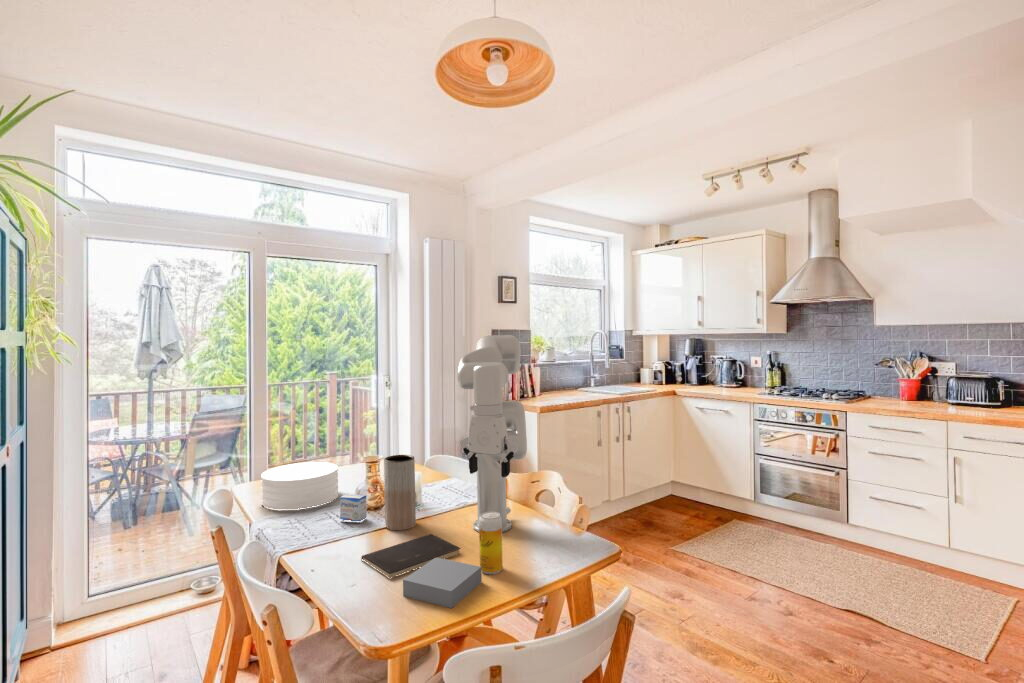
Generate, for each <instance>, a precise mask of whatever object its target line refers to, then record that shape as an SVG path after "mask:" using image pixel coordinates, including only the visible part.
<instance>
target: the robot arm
mask: <svg viewBox="0 0 1024 683" xmlns="http://www.w3.org/2000/svg"><path fill="white" fill-rule="evenodd" d="M521 350H522V349H521V343H520V341H519V339H518V338H517V337H516V336H514V335H513V334H505V335H504V334H503V335H502V334H501V335H499V334H498V335H497V334H496V335H494V334H493V335H484V336H482V337H480V339H479V340H477V342H476V346H475V350H474V351H472V352H469V353H467V354H465V355H463V356H462V357H461V359H460V360H459V363H458V368H457V375H456V376H457V382H458V385H459V386H460V388H461V389H464V390H473V405H470V408H469V409H470V411H473V415H471V416H470V420H469V421H470V422H469V428H468V437H466V438H464V439H463V440H461V441H459V444H460V446H461V447H462V448H461V449H462V451H463V453H464V454H465V455H466V458H467V459H468V469H469V474H471V475H473V474H474V473H476V496H477V498H476V499H477V501H476V502H477V520H475V521H474V522H473V524H472V527H473V529H474V530H475V531H476V532H478V533H479V518H480V515H481V514H482V513H484V512H498V513H499V514H500V516H501V518H502V533H504V532H507V531H509V530H510V529H511V528H512V521H511V520H509V519H507V516H508V514H510V513H511V511H512V510H511V508H510V507H509V506H508V507H507V477H508V476H510V473H511V461H515V460H517V461H518V460H522V459H524V458H525V457H526V456H527V450H528V440H527V425H526V424H527V423H526V412H525V408H524V405H523V403H522V402H520V401H517V400H503V389H504V387H505V386H506V384H507V383H508V382H509V375H514V374H516V373H518V372H519V371H520V367H521V355H522V354H521V353H522V352H521ZM498 461H499V462H498ZM500 461H501V463H500Z"/></svg>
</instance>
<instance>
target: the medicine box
mask: <svg viewBox="0 0 1024 683" xmlns="http://www.w3.org/2000/svg"><path fill="white" fill-rule="evenodd" d="M367 512H368V509H367V495H364V494H363V495H362V494H350V493H346V494H344V495H342V496H340V497H339V520H340V519H343V520H351V521H361V520H363V519H365V518H366V517H367V515H368V514H367ZM367 518H368V517H367Z"/></svg>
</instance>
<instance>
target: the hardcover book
mask: <svg viewBox="0 0 1024 683" xmlns="http://www.w3.org/2000/svg"><path fill="white" fill-rule="evenodd" d="M460 550H461V547H459V546H458V545H455V544H453V543H452V542H449V541H447V540H445V539H442V538H441V537H438V536H437V535H434V534H432V533H429V534H426V535H423V536H420V537H417V538H413V539H409V540H406V541H404V542H401V543H398V544H394V545H391V546H388V547H385V548H382V549H379V550H376V551H372V552H370V553H366V554H364V555H361V560H362V559H363V560H365V561H366V562H368V563H369V564H370V565H372V566H373V567H375V568H376V569H378V570H379V571H381V572H382V573H384V574H385V575H387V576H388V577H389V578H391V577H394V576H396V575H399V574H402V573H404V572H407V571H410V570H413V569H416V568H419V567H422V566H424V565H425V564H427V563H428V562H430V561H431V560H433V559H434V558H436V557H437V558H442V559H444V558H446V559H448V558H447V557H449V558H451V557H450V556H452V557H454V556H456V554H457V555H459V554H460ZM453 555H454V556H453ZM416 570H417V569H416ZM413 571H414V570H413ZM402 575H403V574H402ZM389 578H388V579H389ZM394 578H395V577H394ZM391 579H392V578H391Z"/></svg>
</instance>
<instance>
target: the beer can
mask: <svg viewBox="0 0 1024 683" xmlns="http://www.w3.org/2000/svg"><path fill="white" fill-rule="evenodd" d="M478 533H479V536H478V538H479V539H478V540H479V541H478V542H479V566H480V567H481V573H483V574H485V575H488V574H489V575H490V576H491V574H493V575H496V573H497V574H499V573H500V572H501V571H502V570H503V532H502V518H501V516H500V514H499V513H498V512H484V513H482V514H481V515H480V518H479V532H478ZM498 572H499V573H498Z"/></svg>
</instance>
